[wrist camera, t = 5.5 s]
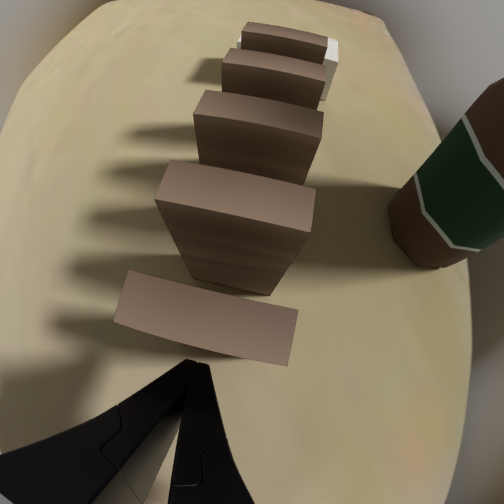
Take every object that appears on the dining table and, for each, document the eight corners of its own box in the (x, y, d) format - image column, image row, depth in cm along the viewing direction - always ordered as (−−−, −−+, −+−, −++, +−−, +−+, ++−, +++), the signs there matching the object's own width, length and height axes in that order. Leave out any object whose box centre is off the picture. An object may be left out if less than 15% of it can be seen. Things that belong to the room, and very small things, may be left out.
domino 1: (256, 358, 17) (287, 366, 7) (176, 339, 17) (113, 321, 7) (262, 333, 17) (298, 309, 8) (183, 314, 17) (128, 269, 8)
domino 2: (269, 295, 18) (310, 232, 9) (192, 278, 18) (153, 198, 9) (274, 272, 19) (316, 189, 9) (199, 255, 19) (170, 159, 9)
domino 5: (296, 150, 22) (327, 47, 13) (236, 137, 22) (241, 30, 13) (299, 136, 23) (327, 37, 13) (241, 124, 23) (247, 21, 13)
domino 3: (281, 238, 19) (321, 138, 10) (208, 222, 19) (192, 113, 10) (284, 217, 20) (323, 112, 11) (215, 202, 20) (205, 89, 11)
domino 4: (290, 189, 21) (325, 82, 11) (223, 175, 21) (221, 62, 11) (292, 172, 21) (326, 66, 12) (229, 159, 21) (230, 48, 12)
